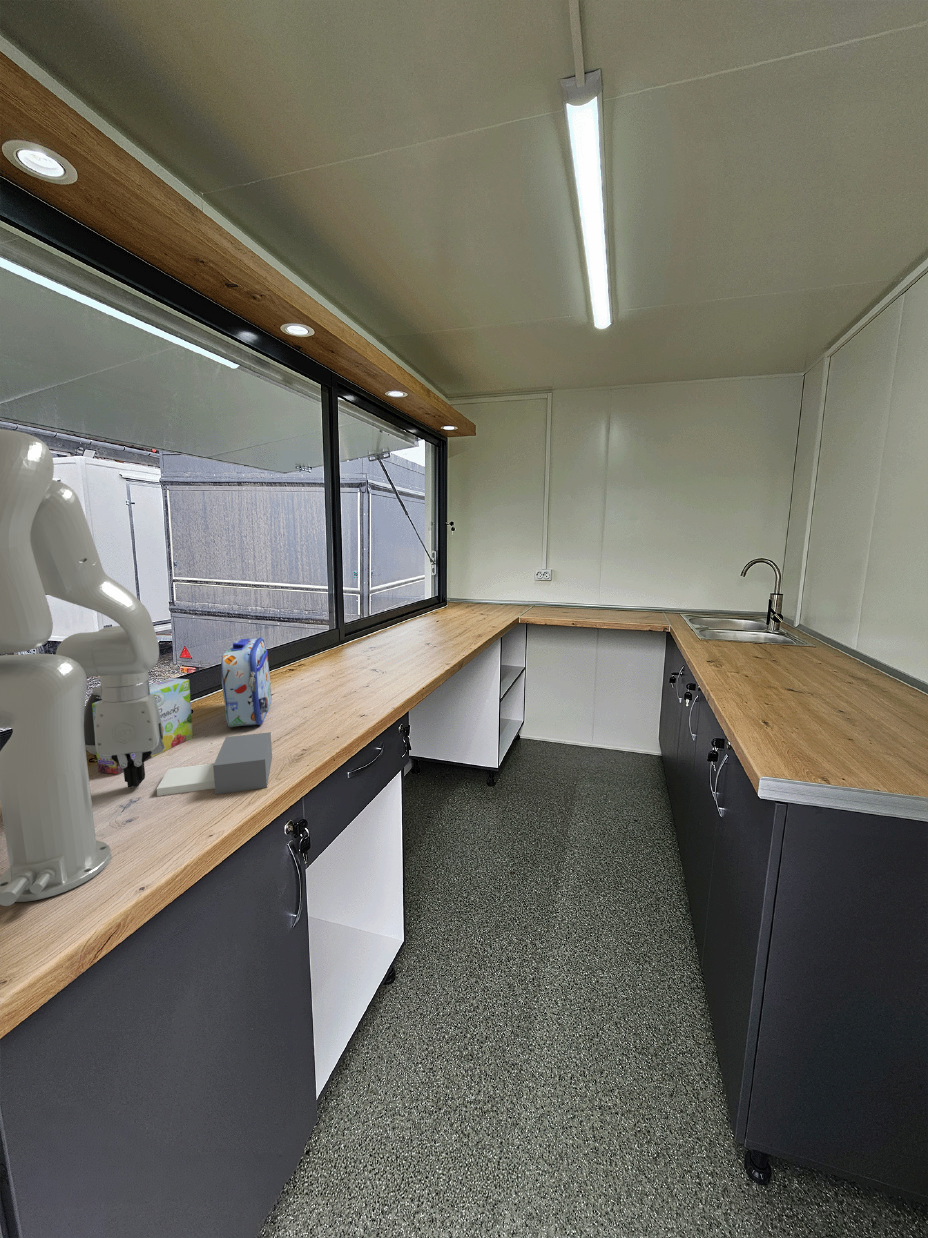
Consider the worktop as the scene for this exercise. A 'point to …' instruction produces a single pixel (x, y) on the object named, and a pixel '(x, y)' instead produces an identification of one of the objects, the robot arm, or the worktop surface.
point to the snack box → (163, 718)
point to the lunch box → (246, 682)
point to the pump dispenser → (90, 724)
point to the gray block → (243, 763)
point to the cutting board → (187, 779)
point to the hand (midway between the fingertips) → (135, 784)
